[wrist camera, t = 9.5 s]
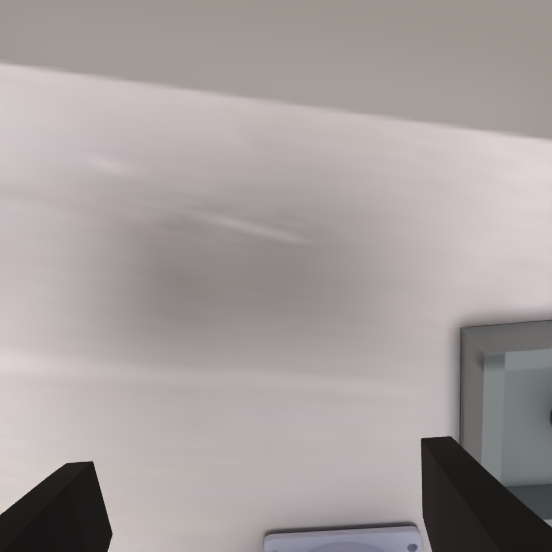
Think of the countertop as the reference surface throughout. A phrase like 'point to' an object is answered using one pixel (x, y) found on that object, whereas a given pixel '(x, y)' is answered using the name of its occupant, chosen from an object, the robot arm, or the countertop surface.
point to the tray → (510, 407)
